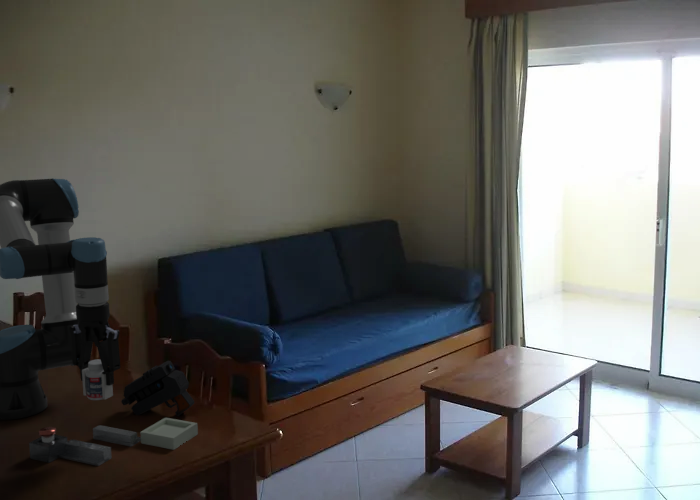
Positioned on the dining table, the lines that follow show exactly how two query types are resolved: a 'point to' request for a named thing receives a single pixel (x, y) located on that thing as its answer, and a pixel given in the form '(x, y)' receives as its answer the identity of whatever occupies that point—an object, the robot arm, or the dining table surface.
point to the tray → (169, 433)
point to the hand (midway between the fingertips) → (98, 395)
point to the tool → (158, 390)
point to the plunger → (47, 434)
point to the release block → (47, 449)
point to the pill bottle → (94, 380)
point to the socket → (96, 452)
